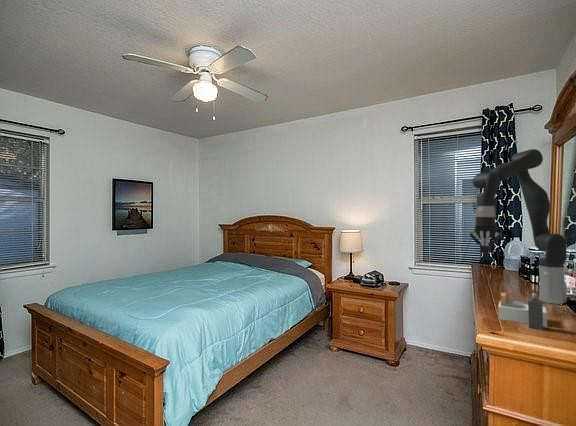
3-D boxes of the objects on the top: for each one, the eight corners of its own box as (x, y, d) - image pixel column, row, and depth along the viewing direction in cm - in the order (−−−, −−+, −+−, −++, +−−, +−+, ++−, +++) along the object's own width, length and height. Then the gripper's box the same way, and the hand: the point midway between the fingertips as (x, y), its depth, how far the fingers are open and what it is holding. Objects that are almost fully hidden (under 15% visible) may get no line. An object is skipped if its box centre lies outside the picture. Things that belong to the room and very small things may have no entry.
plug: (528, 325, 116) (527, 291, 117) (542, 327, 114) (541, 293, 114) (529, 328, 113) (528, 293, 114) (543, 330, 111) (542, 295, 111)
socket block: (499, 312, 132) (499, 301, 132) (545, 319, 123) (545, 306, 123) (498, 319, 124) (498, 306, 124) (547, 326, 115) (546, 312, 115)
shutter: (501, 301, 130) (501, 292, 130) (522, 304, 126) (522, 294, 126) (500, 305, 125) (500, 295, 125) (522, 308, 120) (522, 298, 121)
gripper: (467, 215, 142) (467, 253, 142) (502, 216, 134) (501, 256, 133) (470, 216, 148) (469, 252, 147) (503, 216, 140) (503, 255, 139)
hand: (485, 254), depth 140 cm, fingers closed
